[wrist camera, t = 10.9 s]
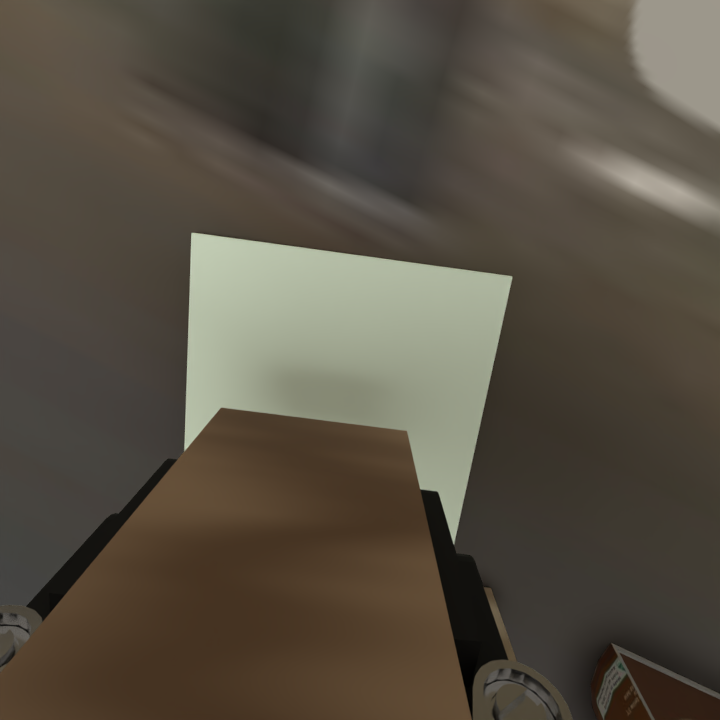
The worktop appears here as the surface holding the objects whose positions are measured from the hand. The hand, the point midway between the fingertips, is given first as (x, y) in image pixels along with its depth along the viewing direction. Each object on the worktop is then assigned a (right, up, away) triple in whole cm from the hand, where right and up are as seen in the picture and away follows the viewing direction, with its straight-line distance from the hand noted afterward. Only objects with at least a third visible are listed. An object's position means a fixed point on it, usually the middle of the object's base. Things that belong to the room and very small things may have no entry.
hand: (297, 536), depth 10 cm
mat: (0, +2, +9) cm, 9 cm away
